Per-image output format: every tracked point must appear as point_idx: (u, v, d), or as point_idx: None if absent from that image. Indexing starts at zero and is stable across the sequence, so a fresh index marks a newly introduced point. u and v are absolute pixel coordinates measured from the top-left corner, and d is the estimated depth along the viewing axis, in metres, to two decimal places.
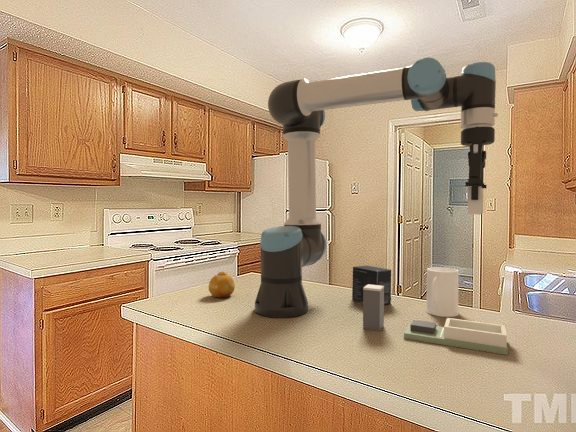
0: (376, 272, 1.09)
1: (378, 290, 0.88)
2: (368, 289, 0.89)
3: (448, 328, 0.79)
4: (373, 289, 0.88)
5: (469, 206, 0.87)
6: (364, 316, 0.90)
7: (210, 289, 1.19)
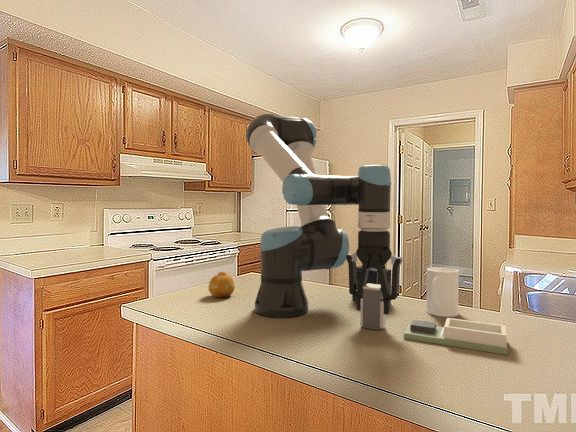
0: (376, 272, 1.09)
1: (378, 289, 0.88)
2: (368, 288, 0.89)
3: (448, 328, 0.79)
4: (373, 288, 0.88)
5: None
6: (364, 315, 0.90)
7: (210, 289, 1.19)
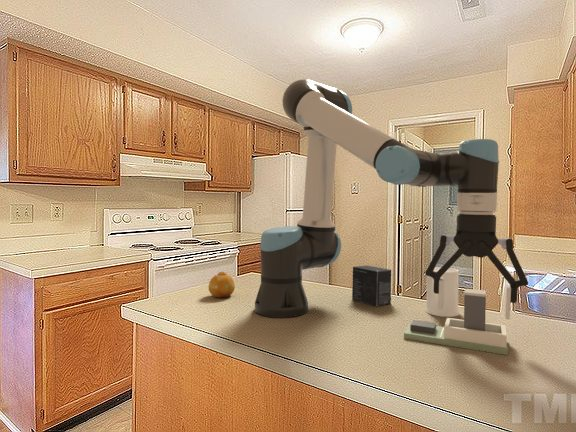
0: (376, 272, 1.09)
1: (483, 295, 0.77)
2: (471, 294, 0.78)
3: (448, 328, 0.79)
4: (477, 294, 0.78)
5: None
6: (465, 325, 0.79)
7: (210, 289, 1.19)
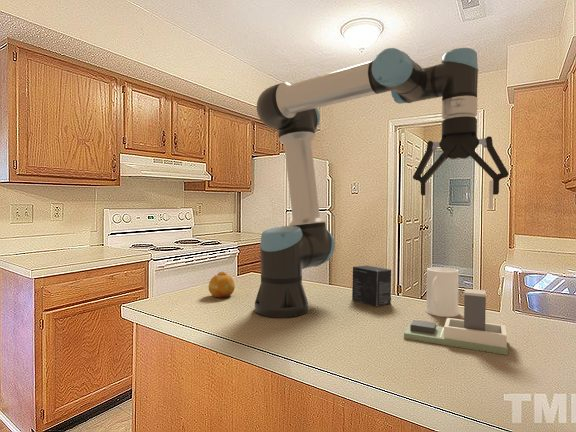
0: (376, 272, 1.09)
1: (483, 295, 0.77)
2: (471, 294, 0.78)
3: (448, 328, 0.79)
4: (477, 294, 0.78)
5: None
6: (465, 325, 0.79)
7: (210, 289, 1.19)
